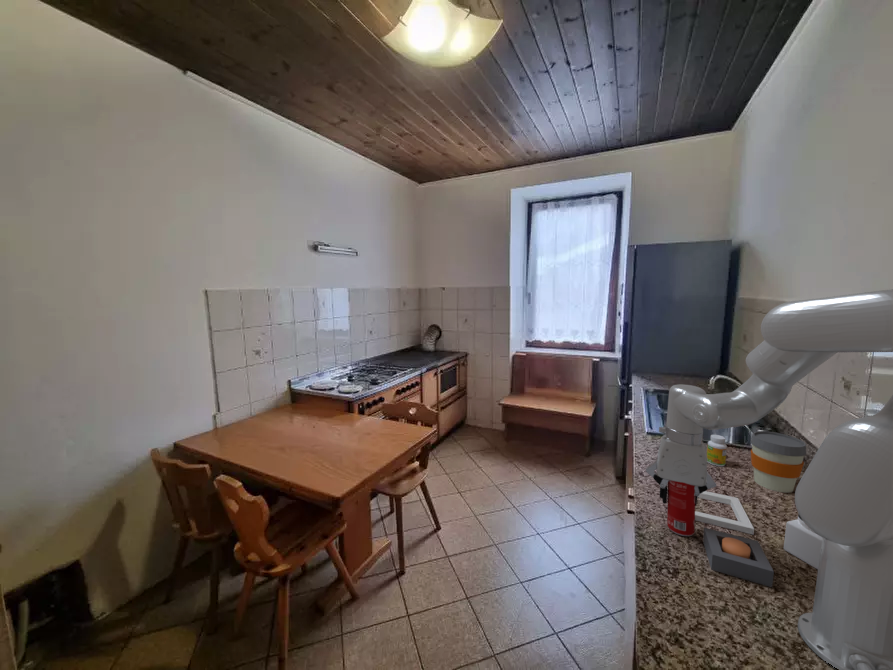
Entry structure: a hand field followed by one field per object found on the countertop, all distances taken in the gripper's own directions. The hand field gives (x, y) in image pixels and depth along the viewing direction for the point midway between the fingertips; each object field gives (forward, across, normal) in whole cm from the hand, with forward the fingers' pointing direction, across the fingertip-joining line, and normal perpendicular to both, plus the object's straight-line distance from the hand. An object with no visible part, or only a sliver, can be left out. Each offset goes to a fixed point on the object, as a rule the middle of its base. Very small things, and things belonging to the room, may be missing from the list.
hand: (677, 503), depth 88 cm
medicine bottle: (+7, +26, +2) cm, 27 cm away
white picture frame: (+7, +10, +14) cm, 18 cm away
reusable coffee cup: (+7, +30, +38) cm, 49 cm away
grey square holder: (+7, +10, -7) cm, 14 cm away
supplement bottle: (+7, +17, +48) cm, 51 cm away
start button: (+5, +10, -7) cm, 14 cm away
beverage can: (+7, +1, 0) cm, 7 cm away
